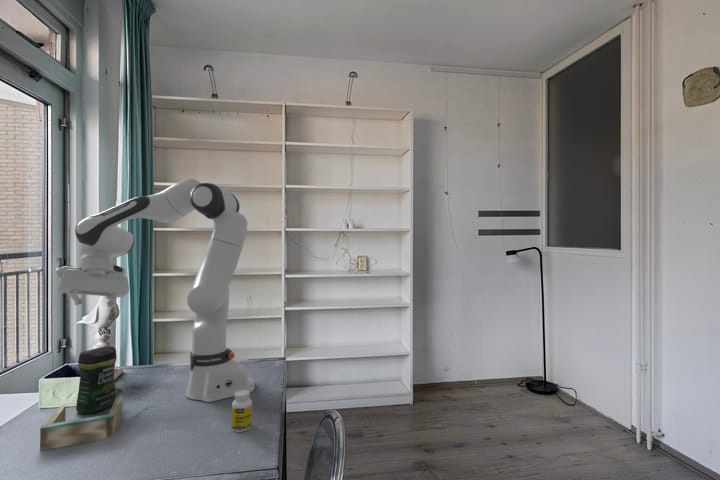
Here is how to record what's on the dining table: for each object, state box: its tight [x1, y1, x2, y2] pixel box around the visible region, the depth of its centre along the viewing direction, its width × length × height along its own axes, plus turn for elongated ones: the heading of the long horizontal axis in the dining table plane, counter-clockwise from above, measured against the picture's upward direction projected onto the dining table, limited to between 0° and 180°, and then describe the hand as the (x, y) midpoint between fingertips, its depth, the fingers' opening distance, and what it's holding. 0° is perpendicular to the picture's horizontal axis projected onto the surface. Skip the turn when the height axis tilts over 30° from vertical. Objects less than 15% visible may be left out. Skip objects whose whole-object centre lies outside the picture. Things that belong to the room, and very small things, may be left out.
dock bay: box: [39, 396, 123, 452], centre depth 98 cm, size 15×14×6 cm
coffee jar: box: [75, 345, 118, 415], centre depth 112 cm, size 10×8×19 cm
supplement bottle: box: [230, 390, 253, 433], centre depth 101 cm, size 5×5×10 cm
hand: (95, 305), depth 120 cm, fingers open, 8 cm apart
